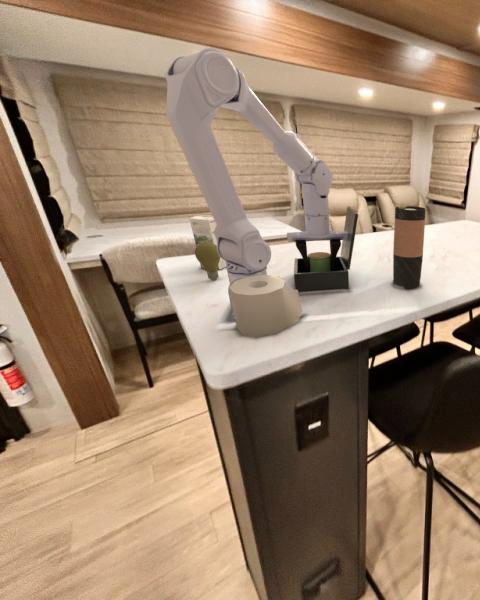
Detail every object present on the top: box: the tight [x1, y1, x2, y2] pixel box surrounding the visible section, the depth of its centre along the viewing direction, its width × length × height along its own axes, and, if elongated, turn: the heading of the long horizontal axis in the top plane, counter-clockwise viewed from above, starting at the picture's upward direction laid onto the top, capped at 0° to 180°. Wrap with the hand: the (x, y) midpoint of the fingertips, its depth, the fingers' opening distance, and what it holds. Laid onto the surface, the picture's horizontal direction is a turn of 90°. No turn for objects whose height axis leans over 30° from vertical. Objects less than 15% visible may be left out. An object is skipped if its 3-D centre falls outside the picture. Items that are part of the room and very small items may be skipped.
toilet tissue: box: [228, 274, 304, 338], centre depth 60 cm, size 9×13×9 cm
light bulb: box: [194, 242, 220, 281], centre depth 79 cm, size 6×6×10 cm
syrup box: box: [189, 214, 227, 270], centre depth 88 cm, size 6×6×14 cm
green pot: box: [307, 251, 331, 272], centre depth 80 cm, size 6×6×7 cm
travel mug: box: [392, 205, 426, 290], centre depth 79 cm, size 8×8×20 cm
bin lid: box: [340, 205, 359, 271], centre depth 78 cm, size 13×14×1 cm
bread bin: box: [293, 256, 350, 293], centre depth 80 cm, size 13×14×5 cm
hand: (320, 268), depth 80 cm, fingers closed on green pot, 5 cm apart
